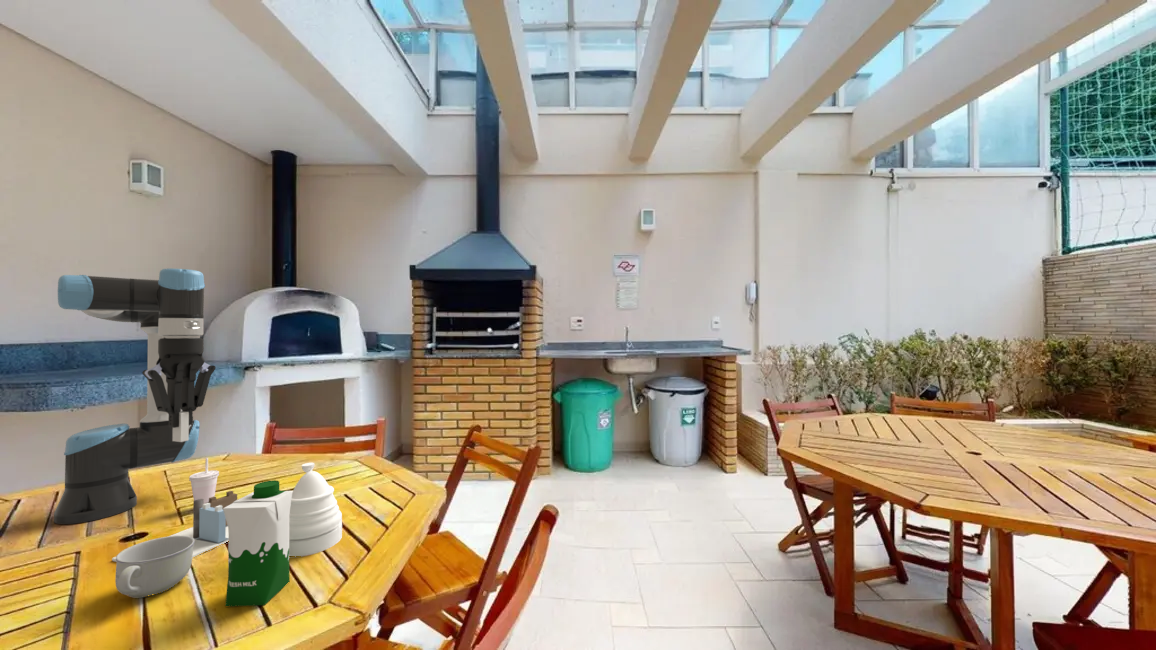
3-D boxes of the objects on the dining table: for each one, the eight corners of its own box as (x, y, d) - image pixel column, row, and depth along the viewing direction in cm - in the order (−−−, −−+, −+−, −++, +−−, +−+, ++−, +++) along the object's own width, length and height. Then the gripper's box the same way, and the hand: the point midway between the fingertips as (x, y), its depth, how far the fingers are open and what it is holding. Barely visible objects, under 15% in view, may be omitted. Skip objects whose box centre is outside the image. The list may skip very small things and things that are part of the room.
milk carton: (297, 579, 84) (297, 479, 84) (265, 609, 75) (266, 496, 75) (251, 580, 83) (252, 480, 84) (214, 611, 74) (215, 498, 75)
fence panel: (218, 542, 97) (218, 508, 97) (199, 538, 99) (199, 504, 100) (225, 539, 98) (225, 505, 99) (206, 535, 101) (206, 502, 101)
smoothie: (224, 505, 120) (224, 456, 121) (198, 514, 114) (198, 463, 115) (209, 502, 123) (210, 454, 123) (183, 511, 116) (183, 460, 117)
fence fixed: (191, 537, 100) (191, 501, 100) (232, 520, 109) (232, 487, 109) (196, 538, 100) (196, 502, 100) (237, 521, 108) (237, 488, 108)
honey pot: (269, 544, 98) (270, 467, 98) (330, 524, 108) (330, 454, 108) (287, 563, 89) (287, 479, 90) (351, 540, 99) (351, 464, 100)
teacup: (152, 573, 86) (152, 534, 86) (208, 570, 87) (208, 531, 87) (77, 619, 72) (77, 573, 72) (145, 615, 73) (145, 569, 73)
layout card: (112, 560, 91) (112, 557, 91) (219, 519, 111) (219, 516, 111) (161, 572, 87) (161, 569, 87) (263, 526, 107) (264, 524, 107)
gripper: (157, 338, 88) (155, 450, 88) (224, 336, 100) (223, 434, 100) (133, 337, 90) (132, 447, 90) (202, 336, 102) (201, 432, 102)
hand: (180, 440), depth 95 cm, fingers closed
